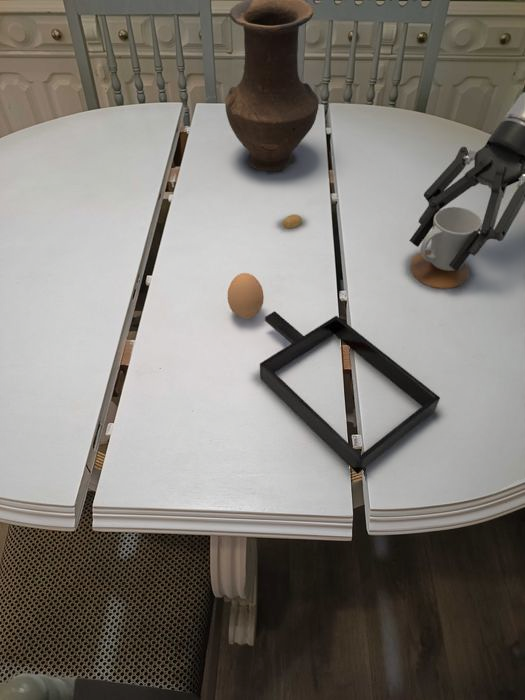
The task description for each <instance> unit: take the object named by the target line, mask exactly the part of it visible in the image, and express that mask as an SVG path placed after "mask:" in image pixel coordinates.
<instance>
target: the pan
mask: <svg viewBox="0 0 525 700" xmlns="http://www.w3.org/2000/svg"><path fill="white" fill-rule="evenodd" d="M264 318H265V319H264V321H265V323H267V324H268V325H269V326H271V327H272V328H273V329H274V330H275V331H276V332H277V333H278V334H279V335H280V336H281V337H283V338H284V339H285V340H286V341H287V342H288V343H289V345H287V346H285V347H283V348H282V349H281V350H279V351H277V352H276V353H274V354H272V355H271V356H269V357H268V358H266V359H265V360H263V361H262V362H260V363H259V379H260V380H261V381H262V382H263V383H264V384H265V385H266V386H267V387H268V388H269V389H270V390H271V391H272V392H273V393H275V394H276V395H277V396H278V398H279V399H281V401H282V402H284V403H285V404H286V405H287V406H288V407H289V408H290V409H291V410H292V411H293V412H294V413H295V414H296V415H297V416H298V417H299V418H300V419H301V420H302V421H303V422H304V423H305V424H306V425H307V426H308V427H309V428H310V429H311V430H312V431H313V432H314V433H315V434H316V435H317V436H318V437H319V438H320V439H321V440H322V441H323V442H324V443H325V444H326V445H328V447H329V448H330V449H331V450H332V451H333V452H335V453H336V454H337V456H339V457H340V459H342V461H344V463H346V464H347V466H349V467H350V468H351V469H352V470H353V471H354V473H356V474H359V473H362V471H363V470H364V469H366V468H367V467H368V466H370V465H371V464H372V463H373V462H374V461H376V460H377V459H378V458H380V457H381V456H382V455H383V454H385V453H386V452H387V451H388V450H390V448H392V447H393V446H395V445H396V444H397V443H398V442H400V440H401V439H403V438H404V437H406V436H407V435H408V434H409V433H410V432H412V431H413V430H414V429H415V428H417V427H418V426H419V425H420V424H422V423H423V422H424V421H425V420H427V419H428V418H429V417H430V416H432V415H433V414H434V413H435V411H436V409H437V406H438V404H439V402H440V399H441V397H440V396H439V395H438V394H436V393H435V392H434V391H433V390H431V389H430V388H429V387H428V386H426V385H425V384H424V383H423V382H421V381H420V380H419V379H417V378H416V377H415V376H414V375H413V374H412V373H410V372H408V370H406V369H405V368H403V367H402V366H401V365H400V364H399V363H398V362H396V361H395V360H393V359H392V358H391V357H390V356H388V355H387V354H386V353H385V352H384V351H382V350H381V349H380V348H378V347H377V346H376V345H375V344H373V343H372V342H371V341H369V340H368V339H367V338H366V337H364V336H363V335H362V334H361V333H359V331H357V330H356V329H354V328H353V327H352V326H350V325H349V324H348V323H347V322H345V321H344V320H343V319H342V318H341V317H339V316H338V315H335V316H333V317H332V318H330V319H328V320H327V321H325V322H324V323H322V324H320V325H319V326H317V327H316V328H314V329H313V330H311V331H309V332H308V333H306V334H304V335H303V334H302V333H301V332H300V331H299V330H297V329H296V328H295V327H294V326H293V325H292V324H290V322H288V321H287V320H286V319H284V318H283V316H281V315H280V314H279V313H278V312H277V311H272V312H271V313H269V314H267V315H265V317H264ZM333 336H336V337H337V338H338V339H339V340H341V341H342V342H343V343H344V344H346V345H347V346H348V347H349V348H350V349H352V350H353V351H354V352H355V353H356V354H358V355H359V356H360V357H361V358H363V360H365V361H366V362H368V364H370V365H371V366H372V367H373V368H375V369H376V370H377V371H378V372H380V373H381V374H382V375H383V376H384V377H386V378H387V379H388V380H389V381H390V382H392V383H393V384H394V385H395V386H397V387H398V388H399V389H400V390H402V391H403V392H404V393H405V394H406V395H408V396H409V397H410V398H411V399H412V400H414V401H415V402H416V403H418V404H419V405H420V406H421V407H420V408H418V409H416V410H415V412H413V413H412V414H411V415H409V416H408V417H407V418H406V419H404V420H403V421H402V422H401V423H399V424H398V425H397V426H396V427H394V428H392V430H390V431H388V433H387V434H385V435H384V436H383V437H382V438H380V439H379V440H377V442H375V443H374V444H373V445H371V446H370V447H369V448H368V449H366V450H365V451H364V452H363V453H359V452H358V451H357V450H356V449H355V448H354V447H353V446H352V445H351V444H350V443H349V442H348V441H347V440H346V439H345V438H344V437H342V435H341V434H339V433H338V432H337V431H336V430H335V429H334V428H333V427H332V426H331V425H330V424H329V423H328V422H327V421H326V420H325V419H324V418H323V417H321V415H320V414H318V412H317V411H315V410H314V409H313V408H312V407H311V406H310V405H309V404H308V403H307V402H306V401H305V400H304V399H303V398H301V397H300V395H299V394H298V393H297V392H295V390H294V389H292V388H291V387H290V386H289V384H287V383H286V382H285V381H284V380H283V379H282V378H281V377H280V376H278V374H277V372H279V371H281V369H283V368H285V367H286V366H288V365H289V364H291V363H292V362H294V361H295V360H297V359H299V358H300V357H302V356H303V355H305V354H306V353H307V352H310V351H311V350H312V349H314V348H316V347H317V346H319V345H320V344H322V343H324V342H325V341H326V340H328V339H329V338H332V337H333Z"/></svg>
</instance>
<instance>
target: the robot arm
mask: <svg viewBox="0 0 525 700" xmlns="http://www.w3.org/2000/svg"><path fill="white" fill-rule="evenodd" d="M473 161H474V165H473V167H472V168H470V169H469V170H468V171H466V173H465V174H464V175H463V176H462V177H460V178H459V179H458V180H457V181H455V182H454V180H455V179H457V177H458V176H460V174H461V173H462V172H463V171H464V169H465V168H466V166H467V165H470V164H471V163H472V162H473ZM452 182H454V183H453V184H452ZM516 183H517V185H516V188H517V189H516V190H515V192H514V194H513V195H512V197H511V199H510V200H509V202H508V204H507V206H506V208H505V209H504V211H503V214H502V215H501V216H500V218H499V220H498V221H497V218H498V215H499V211H500V208H501V204H502V201H503V199H504V196H505V193H506V190H507V187H508V186H511V185H513V184H516ZM479 184H480V185H482V186H487V187H488V188H489V189H490V190H491V191H490V196H489V199H488V203H487V206H486V209H485V213H484V216H483V220H482V226H481V228H480V229H479V233H478V232H476V231H475V230H474V232H473V233H472V234H471V236H470V237H469V238H468V240H467V241H466V243H465V244H464V245H463V247H462V248H461V249H460V251H459V252H458V253H457V255H456V256H455V257H454V259H453V260H452V261H451V263H450V264H449V266H450V267H451V268H453V269H454V270H455V271H458V269H459V268H460V267H461V265H462V264H463V263H464V261H465V262H466V261H467V259H468V257H470V255H471V256H473V257H475V256H477V255H478V253H479V252H480V250H481V249H482V248H483V246H484V245H485V244H486V242H488V241H489V240H495V241H498V242H501V241H503V240H504V238H505V237H506V236H507V233H508V231H509V230H510V228H511V226H512V224H513V222H514V221H515V219H516V218H517V215H518V214H519V212H520V210H521V208H522V207H523V205H524V203H525V89H524V90H523V91H522V92H521V94H520V95H519V97H518V98H517V99H516V101H515V102H514V103H513V105H512V106H511V107H510V108H509V109H508V111H507V113H506V114H505V116H504V120H503V121H500V123H499V124H498V125H497V126H496V128H495V129H494V131H493V132H492V134H491V135H490V136H489V138H488V139H487V141H486V143H485V145H484V146H483V147H481V148H480V149H479V150H477V151H474V150H469V149H468V148H467V147H466V146H461V147H460V148H459V150H458V152H457V154H456V155H455V158H454V159H453V160H452V161H451V163H450V164H449V165H448V166H447V167H446V168H445V169H444V171H442V173H440V175H439V176H438V177H437V179H435V180H434V182H433V183H432V184H431V185H430V186H429V187H428V188H427V189H426V191H424V193H423V197H424V198H425V200H426V201H427V203H428V206H427V207H426V209H425V210H424V211H423V213H422V214H421V216H420V217H419V219H418V223H419V226H418V228H417V229H416V230H415V232H414V233H413V235H412V236H411V238H410V239H409V240H408V241H409V242H410V243H411V244H413V246H415V247H417V248H419V247H420V246H421V245H422V242H423V240H424V238H425V237H426V235H427V234H428V233H429V232H431V231H432V229H433V221H434V216H435V214H436V213H437V212H438V211H440V210H442V209H444V207H446V206H447V205H448V204H450V203H451V202H453V201H454V200H456V199H457V198H458V197H460V196H461V195H462V194H464V193H465V192H467V191H468V190H469V189H471V188H472V187H476V186H477V185H479ZM496 221H497V224H496ZM495 224H496V226H495Z"/></svg>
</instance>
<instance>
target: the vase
mask: <svg viewBox="0 0 525 700" xmlns="http://www.w3.org/2000/svg"><path fill="white" fill-rule="evenodd" d="M229 16H230V19H231V20H232V22H233V23H235V24H236V25H239V26H241V27H243V37H244V38H243V43H244V45H243V46H244V65H243V73H242V78H241V79H240V81H239V83H238V84H237V85H235V86H230V88H229V89H228V92H227V94H226V97H225V114H226V117H227V120H228V124H229V126H230V128H231V130H232V132H233V134H234V135H235V137H236V139H237V140H238V141H239V143H241V145H242V146H243V147H244V148H245V149H246V150H247V151H248V152H249V154H250V155H249V158H248V164H249V165H250V166H251V167H252V168H254V169H255V170H259V171H265V172H275V171H276V172H277V171H281V170H284V169H285V168H286V167H287V166H288V165H289V164H290V163H291V162H292V161H293V155H292V153H293V152H294V150H295V149H296V148H297V147H298V146H299V144H300V143H301V142H302V141H303V139H304V138H305V137H306V136H307V135H308V134H309V132H310V131H311V130H312V128H313V126H314V124H315V122H316V119H317V115H318V111H319V105H320V104H319V102H320V101H319V97H318V94H316V93H315V91H314V90H313V89H312V88H311V86H310V84H309V83H307V82H305V83H304V82H302V81H301V78H300V77H299V67H298V65H299V64H298V62H299V61H298V52H299V29H300V27H301V26H303V25H304V24H307V23H308V22H309V21H310V20H311V19H312V18H313V16H314V9H313V6H312V4H310V3H309V2H306V1H305V0H243V1H241V2H238V3H236V5H233V6H232V7H231V9H230V11H229Z"/></svg>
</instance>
